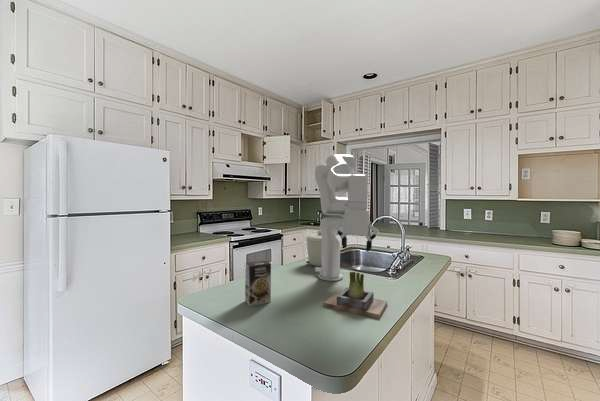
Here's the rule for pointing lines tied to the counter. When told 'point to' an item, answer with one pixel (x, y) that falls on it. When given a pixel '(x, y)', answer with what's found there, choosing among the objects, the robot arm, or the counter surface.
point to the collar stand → (356, 303)
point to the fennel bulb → (356, 286)
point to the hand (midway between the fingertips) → (356, 249)
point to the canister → (314, 248)
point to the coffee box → (258, 283)
